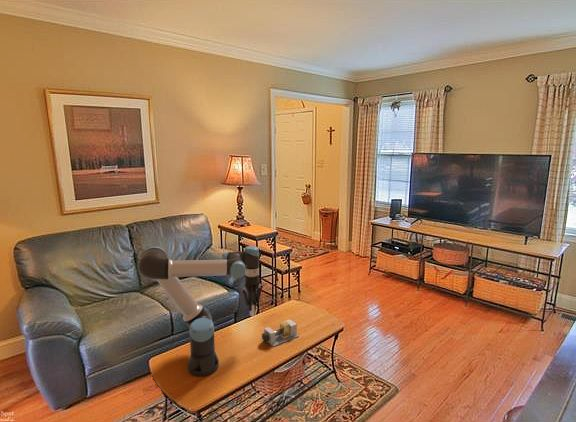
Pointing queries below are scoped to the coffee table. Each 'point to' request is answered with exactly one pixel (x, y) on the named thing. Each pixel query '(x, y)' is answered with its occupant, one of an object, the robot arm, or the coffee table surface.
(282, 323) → the spacer
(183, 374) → the coffee table surface
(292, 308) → the coffee table surface
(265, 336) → the shaft
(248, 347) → the coffee table surface
